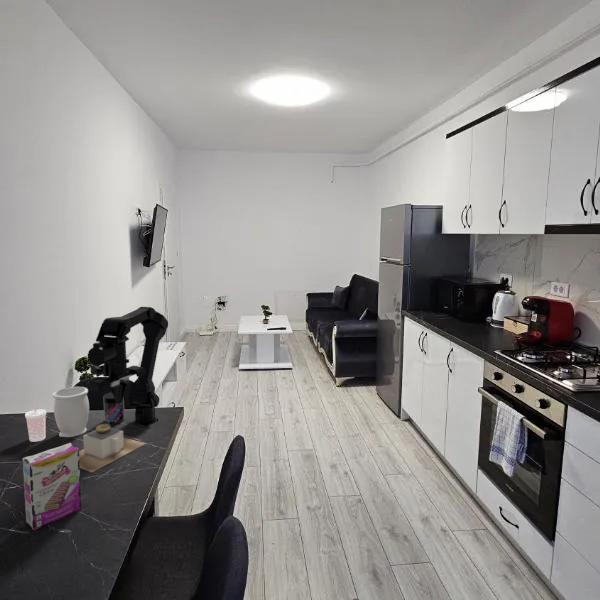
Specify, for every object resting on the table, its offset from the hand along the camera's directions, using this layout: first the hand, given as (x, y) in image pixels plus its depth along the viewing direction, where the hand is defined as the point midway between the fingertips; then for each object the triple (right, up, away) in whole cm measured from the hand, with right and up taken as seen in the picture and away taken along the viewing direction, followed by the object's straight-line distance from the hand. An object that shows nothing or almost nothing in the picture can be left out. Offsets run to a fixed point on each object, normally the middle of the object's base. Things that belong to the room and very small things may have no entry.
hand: (119, 403), depth 147 cm
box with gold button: (-2, -13, -7) cm, 15 cm away
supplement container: (-8, -11, +16) cm, 21 cm away
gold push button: (-2, -12, -8) cm, 14 cm away
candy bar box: (0, -19, -38) cm, 42 cm away
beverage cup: (-28, -12, +2) cm, 31 cm away
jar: (-18, -12, +6) cm, 23 cm away
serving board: (-2, -14, -7) cm, 16 cm away
